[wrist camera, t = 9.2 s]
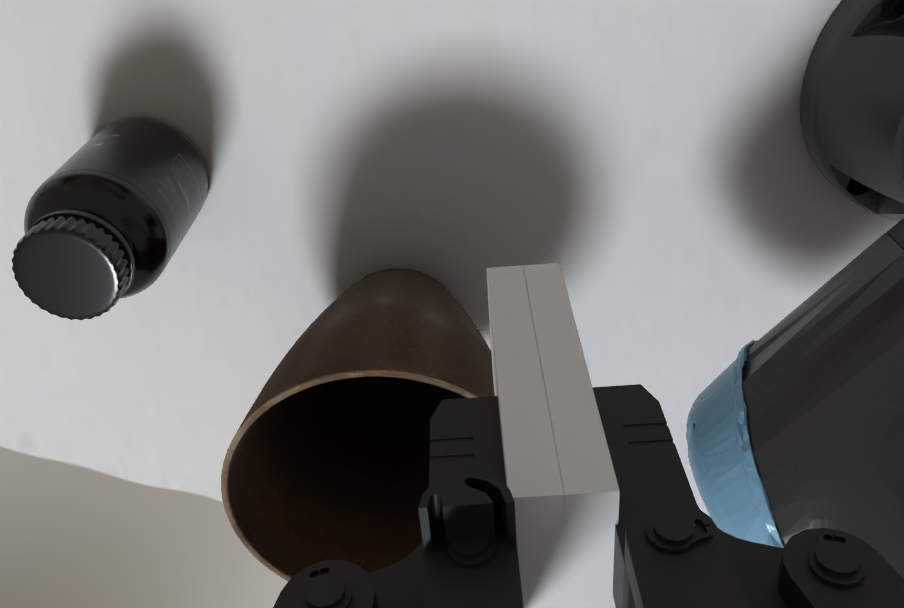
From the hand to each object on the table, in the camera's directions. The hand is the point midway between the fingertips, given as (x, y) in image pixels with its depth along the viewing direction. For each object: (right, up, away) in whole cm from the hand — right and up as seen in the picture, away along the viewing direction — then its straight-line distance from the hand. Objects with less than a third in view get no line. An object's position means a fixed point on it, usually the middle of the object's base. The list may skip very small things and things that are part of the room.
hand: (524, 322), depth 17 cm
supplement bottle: (-19, +8, +30) cm, 36 cm away
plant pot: (-5, -1, +35) cm, 35 cm away
